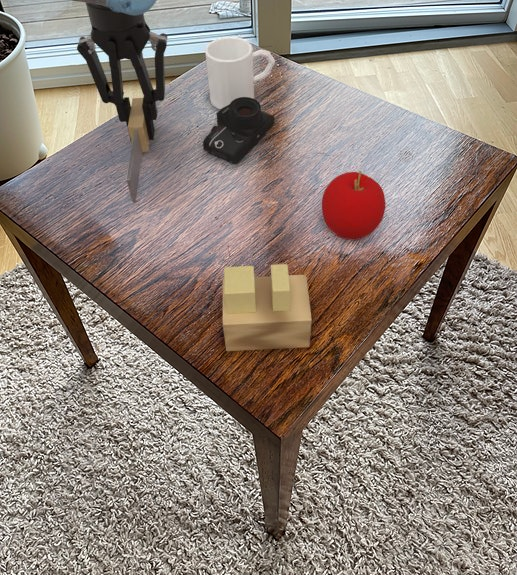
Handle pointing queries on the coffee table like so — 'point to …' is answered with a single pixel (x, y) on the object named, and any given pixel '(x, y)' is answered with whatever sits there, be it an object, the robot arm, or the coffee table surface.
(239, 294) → the butter block
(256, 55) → the mug
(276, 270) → the butter slice
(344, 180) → the fruit
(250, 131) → the film camera
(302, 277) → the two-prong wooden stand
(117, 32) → the robot arm
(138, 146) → the knife
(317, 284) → the coffee table surface
